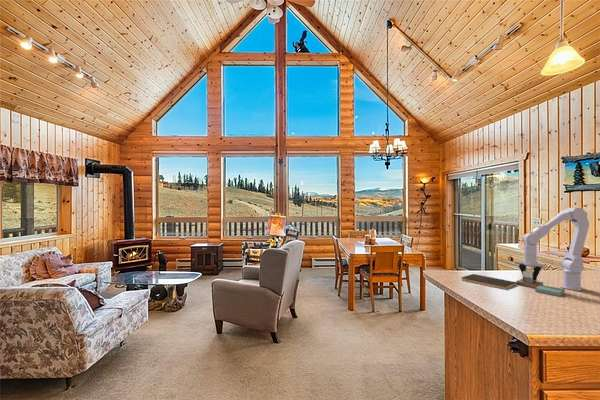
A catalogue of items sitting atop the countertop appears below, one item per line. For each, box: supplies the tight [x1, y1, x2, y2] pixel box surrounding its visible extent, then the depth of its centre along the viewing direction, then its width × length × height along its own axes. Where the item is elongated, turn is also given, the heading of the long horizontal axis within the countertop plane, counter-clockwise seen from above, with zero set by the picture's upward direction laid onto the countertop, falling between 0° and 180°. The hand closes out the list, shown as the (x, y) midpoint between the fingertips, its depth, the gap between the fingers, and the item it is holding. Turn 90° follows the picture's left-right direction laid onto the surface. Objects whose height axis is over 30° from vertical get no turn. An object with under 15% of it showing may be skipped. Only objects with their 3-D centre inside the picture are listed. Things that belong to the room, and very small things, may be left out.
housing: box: [522, 268, 538, 284], centre depth 179 cm, size 8×4×6 cm, turn 129°
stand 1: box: [515, 278, 544, 289], centre depth 179 cm, size 10×10×2 cm
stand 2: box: [534, 284, 566, 297], centre depth 165 cm, size 10×10×2 cm
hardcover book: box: [461, 273, 517, 290], centre depth 183 cm, size 16×23×2 cm
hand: (529, 279), depth 179 cm, fingers closed on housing, 4 cm apart
